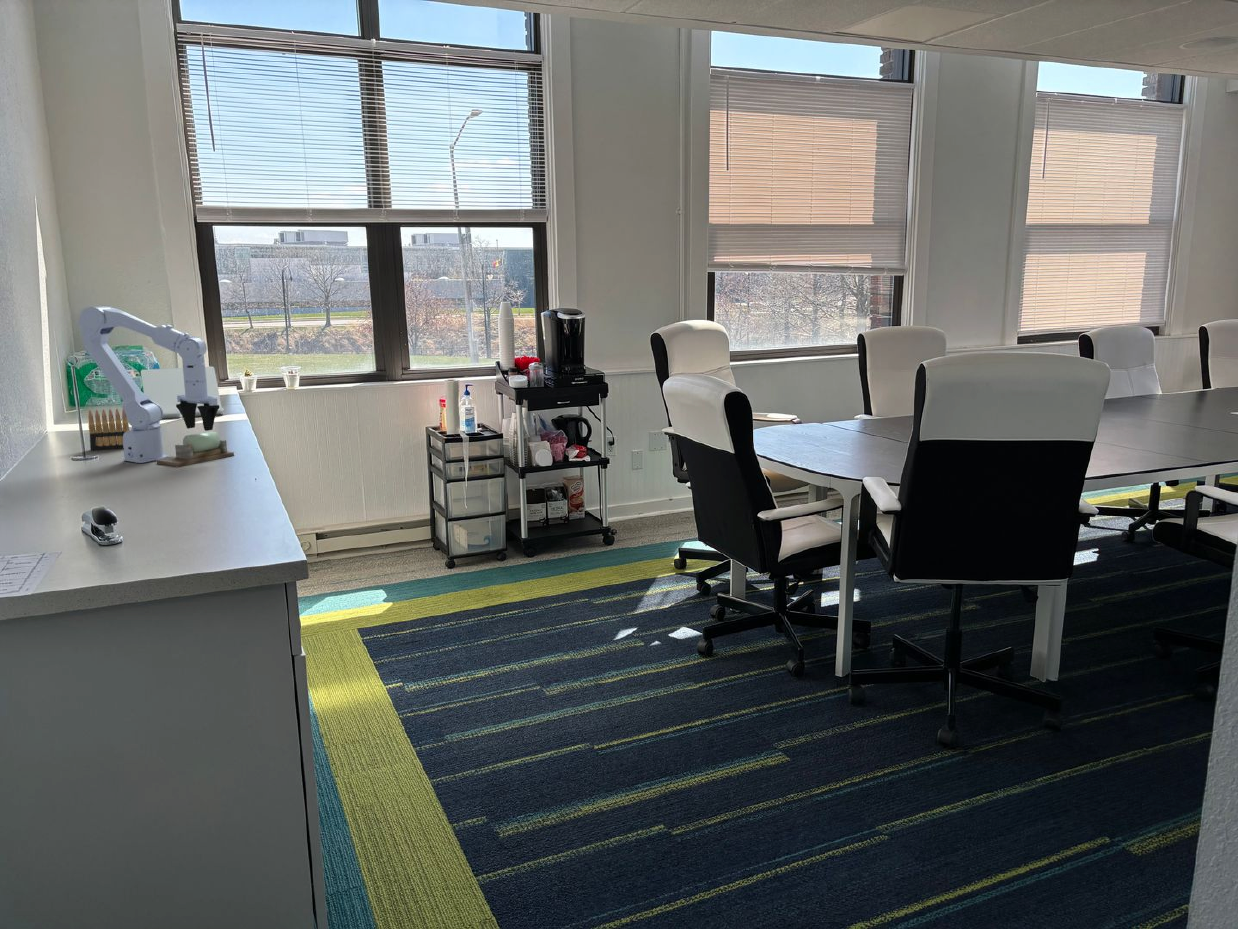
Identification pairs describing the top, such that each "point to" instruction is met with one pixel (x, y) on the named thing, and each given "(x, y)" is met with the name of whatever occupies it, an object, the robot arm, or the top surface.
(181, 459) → the holder
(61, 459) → the top surface
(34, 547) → the top surface
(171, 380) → the tablet stand
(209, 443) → the roll
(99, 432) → the ammunition clip
